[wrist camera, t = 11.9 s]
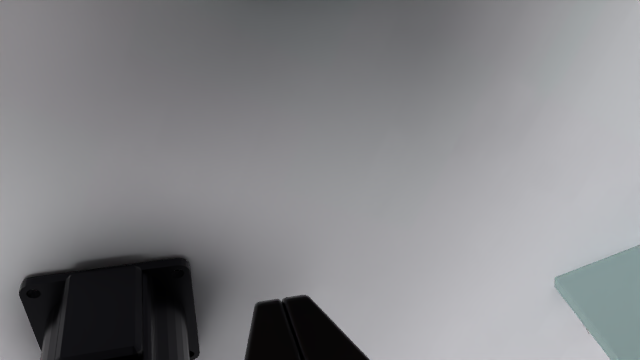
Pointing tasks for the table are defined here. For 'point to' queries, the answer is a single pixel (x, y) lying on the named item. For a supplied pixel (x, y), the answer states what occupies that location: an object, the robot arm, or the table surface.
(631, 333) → the right angle wall
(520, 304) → the table surface
